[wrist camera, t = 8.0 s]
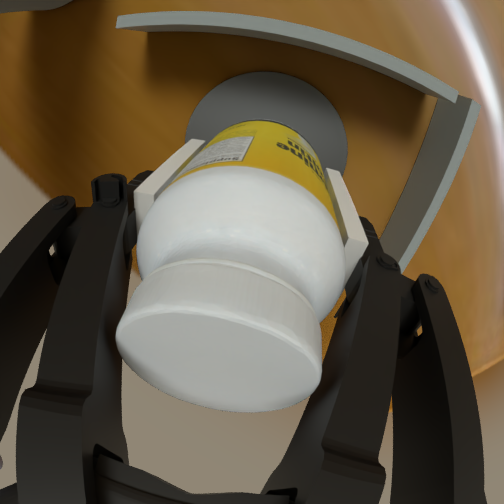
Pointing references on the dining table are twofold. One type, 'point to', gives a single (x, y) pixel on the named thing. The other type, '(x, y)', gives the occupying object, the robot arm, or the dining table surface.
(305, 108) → the coaster
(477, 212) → the dining table surface
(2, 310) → the robot arm
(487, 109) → the dining table surface
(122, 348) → the pill bottle
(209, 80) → the dining table surface
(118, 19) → the fence long
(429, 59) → the dining table surface
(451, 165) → the fence end
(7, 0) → the water bottle
